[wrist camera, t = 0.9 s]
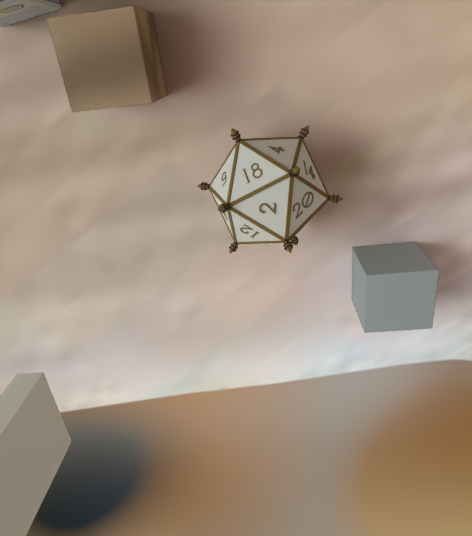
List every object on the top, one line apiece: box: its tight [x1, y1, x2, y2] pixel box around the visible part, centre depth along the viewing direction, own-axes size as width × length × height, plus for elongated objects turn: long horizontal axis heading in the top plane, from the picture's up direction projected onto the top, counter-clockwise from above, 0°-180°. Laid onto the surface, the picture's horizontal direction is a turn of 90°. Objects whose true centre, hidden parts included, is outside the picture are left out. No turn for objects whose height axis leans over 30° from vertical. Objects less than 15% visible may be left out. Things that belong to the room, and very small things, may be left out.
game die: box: [197, 126, 343, 253], centre depth 28 cm, size 9×8×10 cm
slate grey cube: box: [352, 242, 439, 333], centre depth 33 cm, size 5×5×5 cm
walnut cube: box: [47, 6, 167, 112], centre depth 27 cm, size 5×5×5 cm
